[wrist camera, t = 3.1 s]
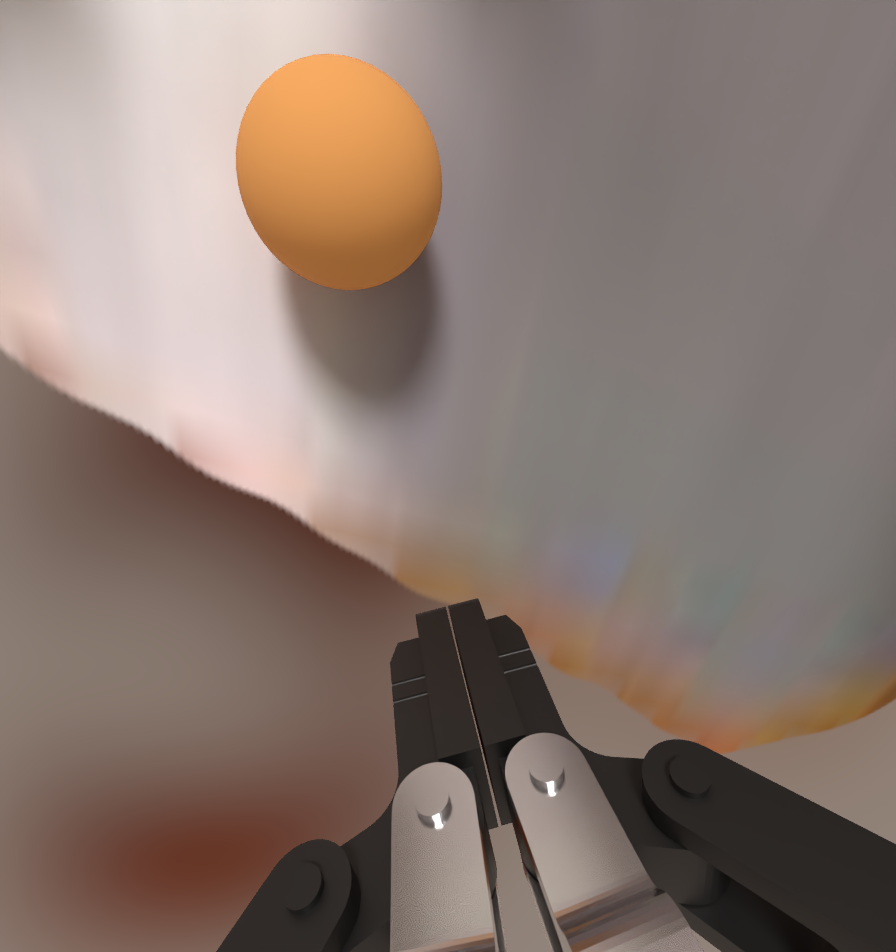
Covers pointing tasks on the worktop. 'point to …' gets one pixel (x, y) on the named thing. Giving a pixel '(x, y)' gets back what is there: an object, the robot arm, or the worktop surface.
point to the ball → (338, 172)
